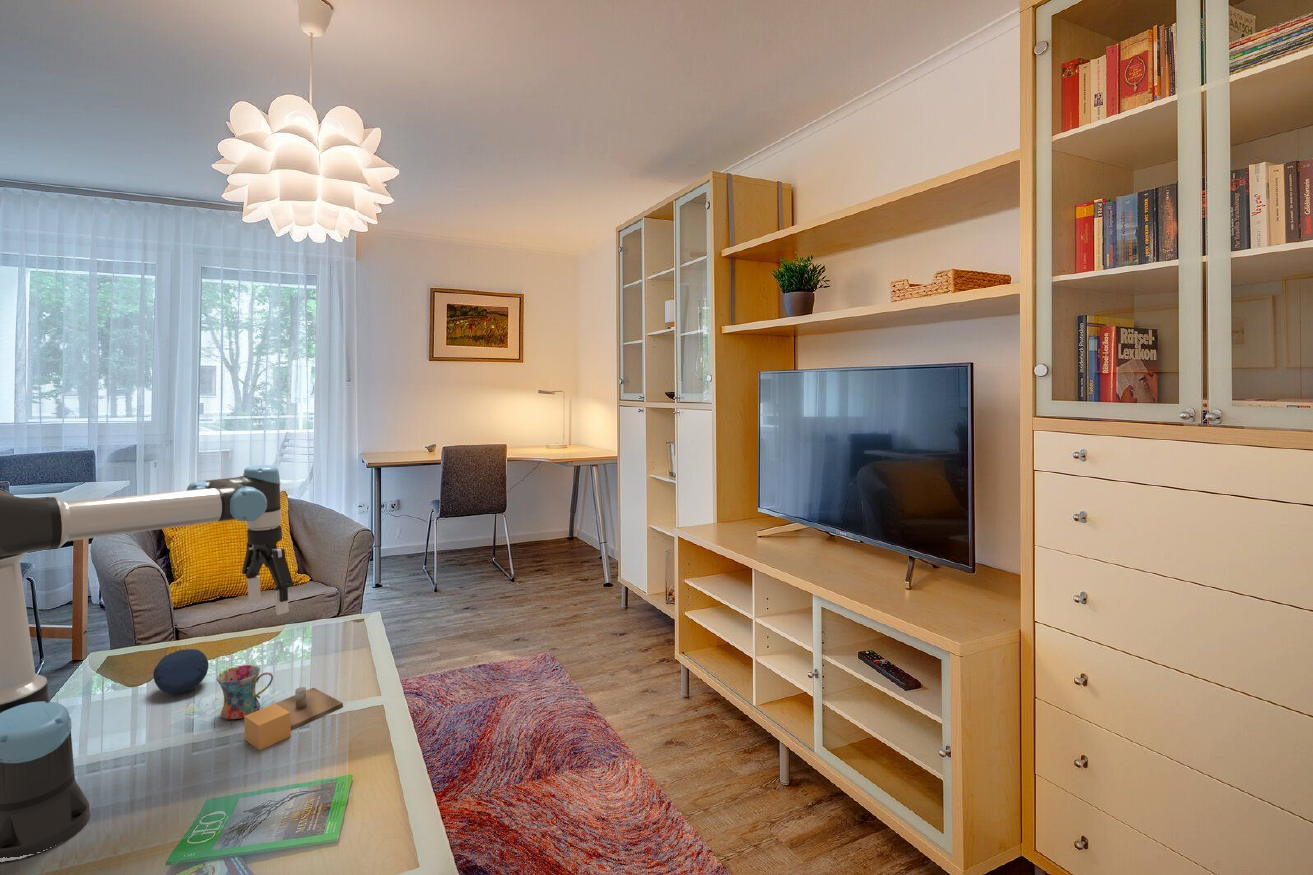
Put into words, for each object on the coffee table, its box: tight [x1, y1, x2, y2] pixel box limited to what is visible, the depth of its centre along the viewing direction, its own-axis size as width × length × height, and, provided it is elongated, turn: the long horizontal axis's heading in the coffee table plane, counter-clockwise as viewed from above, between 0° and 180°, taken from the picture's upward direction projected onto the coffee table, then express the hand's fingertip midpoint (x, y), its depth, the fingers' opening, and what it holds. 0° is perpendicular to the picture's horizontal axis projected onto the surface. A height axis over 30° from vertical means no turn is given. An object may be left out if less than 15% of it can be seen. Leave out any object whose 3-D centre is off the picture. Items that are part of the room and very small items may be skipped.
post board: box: [261, 686, 344, 731], centre depth 164 cm, size 14×14×6 cm
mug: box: [216, 664, 274, 720], centre depth 163 cm, size 12×9×11 cm
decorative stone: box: [153, 648, 209, 695], centre depth 173 cm, size 12×12×10 cm
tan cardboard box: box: [243, 703, 292, 751], centre depth 152 cm, size 7×7×6 cm
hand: (268, 607), depth 164 cm, fingers open, 13 cm apart
